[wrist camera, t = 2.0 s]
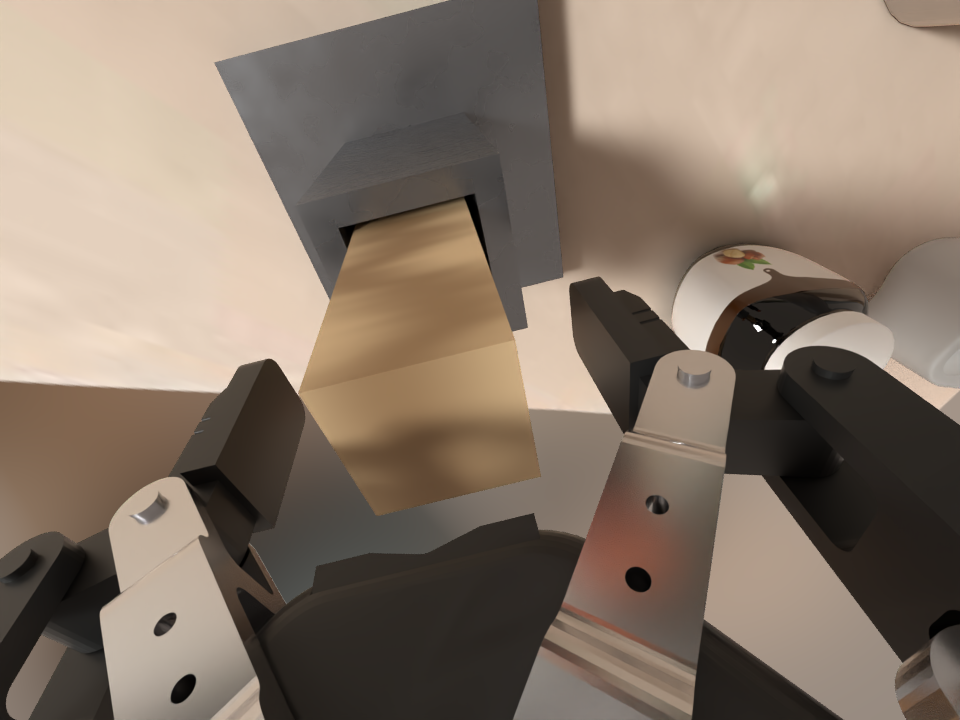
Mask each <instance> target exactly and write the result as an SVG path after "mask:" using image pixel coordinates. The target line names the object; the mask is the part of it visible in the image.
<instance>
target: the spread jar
mask: <svg viewBox="0 0 960 720" xmlns="http://www.w3.org/2000/svg"><path fill="white" fill-rule="evenodd" d="M868 315H869V307H868V300H867V297H866V295H865V292H863V291H862V290H861V289H860V288H859V287H858V286H857V285H856V284H854V283H853V282H851V281H850V280H848V279H846V278H844V277H843V276H841V275H839V274H837V273H835V272H833V271H831V270H829V269H827V268H825V267H823V266H821V265H820V264H818V263H816V262H814V261H812V260H810V259H808V258H805V257H803V256H801V255H798V254H795V253H792V252H789V251H786V250H783V249H779V248H774V247H768V246H763V245H756V244H732V245H727V246H723V247H719V248H717V249H714V250H712V251H710V252H708V253H706V254H704V255H703V256H701V257H700V258H698V259H697V260H696V261H695V262H694V263H693V264H692V265H691V266H690V267H689V268H688V270H687V271H686V273H685V274H684V276H683V277H682V279H681V281H680V283H679V285H678V288H677V291H676V294H675V297H674V301H673V306H672V327H673V330H674V332H675V334H676V335H677V336H678V337H679V338H680V339H681V340H682V341H683V343H684V344H685V345H686V346H687V347H688V348H689V349H690V350H700V351H705V352H709V353H712V354H715V355H717V356H719V357H721V358H723V359H724V360H726V361H727V362H728V363H729V364H730V365H731V366H732V367H733V369H734V370H777V369H782V365H783V362H784V359H785V357H786V356H787V355H788V354H789V353H790V352H792V351H793V350H796V349H798V348H802V347H807V346H830V347H837V348H842V349H845V350H849V351H852V352H855V353H857V354H860V355H862V356H864V357H866V358H867V359H869V360H870V361H872V362H873V363H875V364H876V365H877V366H879V367H880V368H882V369H884V368H885V366H886V365H887V363H888V361H889V360H890V358H891V356H892V353H893V350H894V341H895V340H894V336H893V333H892V332H891V331H890V329H889V328H887V327H886V326H884V325H882V324H880V323H879V322H877V321H875V320H873V319H872V318H870V317H868Z"/></svg>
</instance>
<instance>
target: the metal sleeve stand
mask: <svg viewBox="0 0 960 720" xmlns="http://www.w3.org/2000/svg"><path fill="white" fill-rule="evenodd" d="M215 65H216V67H217V69H218V71H219V73H220V75H221V77H222V79H223V81H224V83H225V86H226V88H227V90H228V92H229V94H230V96H231V98H232V100H233V102H234V104H235V106H236V108H237V110H238V112H239V114H240V116H241V118H242V120H243V122H244V125H245V127H246V129H247V131H248V133H249V135H250V137H251V139H252V141H253V143H254V145H255V147H256V149H257V151H258V153H259V155H260V157H261V159H262V161H263V164H264V166H265V168H266V170H267V172H268V174H269V176H270V178H271V180H272V182H273V184H274V186H275V188H276V190H277V192H278V194H279V196H280V198H281V200H282V203H283V205H284V207H285V209H286V211H287V213H288V215H289V217H290V219H291V221H292V223H293V225H294V227H295V229H296V231H297V233H298V235H299V237H300V240H301V242H302V244H303V246H304V248H305V250H306V252H307V254H308V256H309V258H310V260H311V262H312V264H313V266H314V268H315V270H316V272H317V274H318V276H319V279H320V281H321V283H322V285H323V287H324V289H325V291H326V293H327V295H328V297H329V299H331V296H332V293H333V290H334V288H335V285H336V282H337V279H338V276H339V273H340V270H341V267H342V264H343V261H344V258H345V255H346V253H347V250H348V247H349V244H350V241H351V238H352V235H353V232H354V229H355V226H356V223H360V222H364V221H368V220H372V219H376V218H380V217H384V216H388V215H392V214H396V213H400V212H404V211H407V210H411V209H415V208H419V207H423V206H427V205H431V204H435V203H439V202H443V201H447V200H451V199H454V198H458V197H462V196H464V199H465V202H466V204H467V207H468V210H469V213H470V216H471V218H472V221H473V224H474V227H475V230H476V232H477V235H478V238H479V241H480V244H481V246H482V249H483V252H484V255H485V258H486V260H487V263H488V266H489V269H490V271H491V274H492V277H493V280H494V283H495V285H496V288H497V291H498V294H499V297H500V299H501V302H502V305H503V308H504V311H505V313H506V316H507V319H508V322H509V325H510V327H511V330H512V331H516V330H520V329H524V328H528V326H527V320H526V313H525V307H524V301H523V295H522V289H521V288H522V287H526V286H530V285H534V284H538V283H542V282H546V281H550V280H554V279H558V278H562V277H563V269H562V258H561V248H560V237H559V226H558V215H557V205H556V194H555V183H554V173H553V162H552V151H551V141H550V130H549V119H548V108H547V98H546V87H545V76H544V66H543V55H542V44H541V34H540V23H539V12H538V1H537V0H449V1H445V2H441V3H438V4H434V5H430V6H426V7H423V8H419V9H415V10H411V11H407V12H404V13H400V14H396V15H392V16H389V17H385V18H381V19H377V20H373V21H370V22H366V23H362V24H358V25H355V26H351V27H347V28H343V29H339V30H336V31H332V32H328V33H324V34H321V35H317V36H313V37H309V38H306V39H302V40H298V41H294V42H290V43H287V44H283V45H279V46H275V47H272V48H268V49H264V50H260V51H256V52H253V53H249V54H245V55H241V56H238V57H234V58H230V59H226V60H222V61H219V62H215Z"/></svg>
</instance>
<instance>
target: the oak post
mask: <svg viewBox="0 0 960 720" xmlns="http://www.w3.org/2000/svg"><path fill="white" fill-rule="evenodd" d="M298 394H299V395H300V397H301V398H302V400H303V402H304V403H305V405H306V406H307V408H308V409H309V411H310V413H311V414H312V416H313V417H314V419H315V420H316V422H317V423H318V425H319V427H320V428H321V429H322V431H323V433H324V434H325V436H326V438H327V439H328V441H329V442H330V443H331V445H332V447H333V448H334V450H335V451H336V453H337V455H338V456H339V458H340V459H341V461H342V462H343V464H344V466H345V467H346V469H347V470H348V472H349V473H350V475H351V476H352V478H353V480H354V481H355V483H356V484H357V486H358V487H359V489H360V491H361V492H362V494H363V495H364V497H365V498H366V500H367V502H368V503H369V504H370V506H371V508H372V509H373V511H374V512H375V514H376V516H379V515H383V514H387V513H391V512H395V511H399V510H404V509H408V508H412V507H416V506H420V505H425V504H429V503H433V502H437V501H441V500H445V499H449V498H454V497H458V496H462V495H466V494H470V493H475V492H479V491H483V490H487V489H491V488H495V487H499V486H503V485H508V484H512V483H516V482H520V481H524V480H528V479H533V478H537V477H541V474H540V469H539V464H538V458H537V453H536V448H535V443H534V437H533V433H532V427H531V422H530V416H529V411H528V406H527V401H526V395H525V390H524V385H523V380H522V374H521V369H520V364H519V359H518V353H517V348H516V343H515V339H514V336H513V333H512V330H511V327H510V325H509V322H508V319H507V316H506V313H505V311H504V308H503V305H502V302H501V299H500V297H499V294H498V291H497V288H496V285H495V283H494V280H493V277H492V274H491V271H490V269H489V266H488V263H487V260H486V258H485V255H484V252H483V249H482V246H481V244H480V241H479V238H478V235H477V232H476V230H475V227H474V224H473V221H472V218H471V216H470V213H469V210H468V207H467V204H466V202H465V199H464V196H462V197H458V198H454V199H451V200H447V201H443V202H439V203H435V204H431V205H427V206H423V207H419V208H415V209H411V210H407V211H404V212H400V213H396V214H392V215H388V216H384V217H380V218H376V219H372V220H368V221H364V222H360V223H356V226H355V229H354V232H353V235H352V238H351V241H350V244H349V247H348V250H347V253H346V255H345V258H344V261H343V264H342V267H341V270H340V273H339V276H338V279H337V282H336V285H335V288H334V290H333V293H332V296H331V299H330V302H329V305H328V308H327V311H326V314H325V317H324V320H323V323H322V326H321V328H320V331H319V334H318V337H317V340H316V343H315V346H314V349H313V352H312V355H311V358H310V361H309V363H308V366H307V369H306V372H305V375H304V378H303V381H302V384H301V387H300V390H299V393H298Z"/></svg>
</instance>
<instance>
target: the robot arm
mask: <svg viewBox="0 0 960 720" xmlns="http://www.w3.org/2000/svg"><path fill="white" fill-rule="evenodd" d="M884 1H885V3H886V5H887V7H888V9H889V11H890V13H891V14H892V15H893V16H894V17H895V18H896V19H897V20H898V21H899V22H901V23H904V24H907V25H909V26H912V27H929V26H947V25H960V0H884ZM569 293H570V305H571V317H572V329H573V338H574V342H575V346H576V349H577V352H578V354H579V356H580V358H581V359H582V361H583V363H584V365H585V366H586V368H587V370H588V372H589V374H590V375H591V377H592V379H593V381H594V382H595V384H596V386H597V388H598V389H599V391H600V393H601V395H602V396H603V398H604V400H605V402H606V404H607V405H608V407H609V409H610V411H611V412H612V414H613V416H614V418H615V419H616V421H617V423H618V425H619V426H620V428H621V430H622V432H623V433H624V436H623V438H622V441H621V443H620V446H619V449H618V452H617V455H616V457H615V460H614V463H613V466H612V468H611V471H610V474H609V476H608V480H607V482H606V485H605V488H604V490H603V493H602V496H601V499H600V501H599V504H598V507H597V510H596V512H595V515H594V518H593V521H592V523H591V526H590V529H589V532H588V534H587V537H586V539H585V538H582V537H579V536H577V535H573V534H569V533H566V532H560V531H553V530H538V527H537V523H536V520H535V516H534V513H533V514H529V515H525V516H520V517H516V518H512V519H508V520H504V521H500V522H496V523H492V524H487V525H483V526H480V527H478V528H476V529H474V530H472V531H470V532H468V533H466V534H464V535H462V536H460V537H458V538H456V539H454V540H452V541H450V542H448V543H447V544H445V545H443V546H441V547H439V548H437V549H435V550H433V551H431V552H429V553H425V554H379V553H369V554H364V555H360V556H357V557H352V558H348V559H344V560H340V561H336V562H332V563H328V564H324V565H319V566H317V567H316V572H315V577H314V583H313V587H311V588H309V589H307V590H306V591H304V592H303V593H301V594H300V595H298V596H297V597H295V598H294V599H293V600H291V601H290V602H289V603H288V604H286V602H285V601H284V599H283V597H282V596H281V594H280V592H279V590H278V589H277V587H276V585H275V583H274V582H273V580H272V578H271V576H270V574H269V573H268V571H267V569H266V567H265V566H264V564H263V562H262V560H261V558H260V557H259V555H258V553H257V551H256V550H255V549H254V547H253V546H251V545H250V544H249V541H250V538H251V536H252V533H256V532H260V531H264V530H268V529H272V528H274V527H275V524H276V521H277V517H278V514H279V510H280V507H281V503H282V500H283V496H284V493H285V489H286V486H287V482H288V479H289V475H290V472H291V469H292V465H293V461H294V458H295V455H296V451H297V447H298V444H299V441H300V437H301V433H302V430H303V427H304V423H305V411H304V407H303V404H302V402H301V400H300V398H299V397H298V395H297V393H296V392H295V390H294V389H293V387H292V386H291V384H290V382H289V381H288V379H287V378H286V376H285V375H284V373H283V372H282V370H281V368H280V367H279V365H278V364H277V363H276V362H275V361H274V360H272V359H265V360H261V361H257V362H253V363H249V364H245V365H242V366H240V367H239V368H238V369H237V371H236V373H235V374H234V376H233V378H232V380H231V382H230V383H229V385H228V387H227V388H226V389H225V390H224V391H223V392H222V393H221V394H220V395H219V396H218V397H217V398H216V399H215V400H214V401H213V402H212V403H211V404H210V405H209V407H208V409H207V410H206V412H205V414H204V416H203V417H202V422H200V423H199V424H198V426H197V428H196V429H195V431H194V433H195V435H192V436H191V438H190V440H189V442H188V443H187V445H186V447H185V449H184V450H183V452H182V454H181V456H180V457H179V459H178V461H177V463H176V464H175V466H174V468H173V469H172V471H171V473H170V475H169V476H168V477H167V478H163V479H160V480H158V481H155V482H153V483H151V484H149V485H147V486H145V487H144V488H142V489H141V490H139V491H138V492H136V493H135V494H134V495H133V496H131V497H130V498H129V499H128V500H127V501H126V502H125V503H124V504H123V505H122V506H121V507H120V508H119V510H118V511H117V512H116V513H115V515H114V517H113V518H112V520H111V522H110V525H109V528H107V529H105V530H103V531H101V532H99V533H97V534H95V535H93V536H91V537H89V538H87V539H85V540H83V541H81V542H79V543H77V544H76V543H75V542H73V541H71V540H70V539H69V538H67V537H65V536H64V535H62V534H61V533H59V532H48V533H44V534H41V535H38V536H36V537H34V538H31V539H29V540H28V541H26V542H24V543H22V544H21V545H19V546H17V547H16V548H14V549H13V550H12V551H10V552H9V553H8V554H6V555H5V556H4V557H3V558H1V559H0V720H15V719H13V718H12V717H10V716H9V714H8V713H7V709H6V697H7V694H8V691H9V688H10V686H11V685H12V683H13V681H14V679H15V678H16V676H17V674H18V672H19V671H20V669H21V668H22V666H23V664H24V663H25V661H26V659H27V657H28V656H29V654H30V652H31V651H32V649H33V647H34V646H35V644H36V642H37V641H38V639H39V637H40V636H41V635H43V636H45V637H47V638H49V639H52V640H54V641H56V642H58V643H61V644H63V645H65V646H67V649H66V651H65V653H64V655H63V656H62V658H61V660H60V662H59V664H58V666H57V668H56V670H55V671H54V673H53V675H52V677H51V679H50V681H49V683H48V684H47V686H46V688H45V690H44V692H43V694H42V696H41V698H40V699H39V701H38V703H37V705H36V707H35V709H34V711H33V712H32V714H31V716H30V718H29V720H843V719H842V718H840V717H839V716H838V715H836V714H835V713H833V712H832V711H831V710H829V709H828V708H827V707H825V706H824V705H823V704H821V703H820V702H818V701H817V700H815V699H814V698H813V697H811V696H810V695H809V694H807V693H806V692H804V691H803V690H802V689H800V688H799V687H797V686H796V685H795V684H793V683H792V682H790V681H789V680H787V679H786V678H785V677H783V676H782V675H781V674H779V673H778V672H776V671H775V670H774V669H772V668H771V667H770V666H768V665H767V664H765V663H764V662H762V661H761V660H760V659H758V658H757V657H756V656H754V655H753V654H751V653H750V652H749V651H747V650H746V649H744V648H743V647H742V646H740V645H739V644H737V643H736V642H735V641H733V640H732V639H730V638H729V637H728V636H726V635H725V634H723V633H722V632H721V631H719V630H718V629H716V628H715V627H714V626H712V625H711V624H710V623H708V622H707V621H705V620H704V612H705V605H706V599H707V592H708V591H707V590H708V584H709V578H710V571H711V563H712V556H713V549H714V542H715V534H716V528H717V521H718V514H719V506H720V500H721V492H722V485H723V478H724V474H747V475H762V476H763V477H764V479H765V480H766V482H767V483H768V484H769V486H770V487H771V488H772V490H773V491H774V492H775V494H776V495H777V496H778V498H779V499H780V500H781V502H782V503H783V504H784V506H785V507H786V508H787V510H788V511H789V512H790V514H791V515H792V516H793V518H794V519H795V520H796V522H797V523H798V524H799V526H800V527H801V528H802V530H803V531H804V532H805V534H806V535H807V536H808V537H809V539H810V540H811V541H812V543H813V544H814V546H815V547H816V548H817V550H818V551H819V552H820V554H821V555H822V556H823V558H824V559H825V560H826V562H827V563H828V564H829V566H830V567H831V568H832V570H834V572H835V574H836V575H837V576H838V577H839V579H840V580H841V582H842V583H843V584H844V585H845V587H846V588H847V589H848V591H849V592H850V593H851V595H852V596H853V597H854V599H855V600H856V601H857V603H858V604H859V605H860V607H861V608H862V609H863V611H864V612H865V613H866V615H867V616H868V617H869V619H870V620H871V621H872V623H873V624H874V625H875V627H876V628H877V629H878V631H879V632H880V633H881V635H882V636H883V637H884V639H885V640H886V641H887V643H888V644H889V645H890V646H891V648H892V649H893V651H894V652H895V653H896V655H897V656H898V657H899V659H900V660H901V661H902V664H901V665H900V666H899V668H898V671H897V673H896V677H895V692H896V696H897V700H898V703H899V705H900V708H901V710H902V713H903V714H904V716H905V718H906V720H960V425H959V424H957V423H956V422H955V421H953V420H952V419H950V418H949V417H948V416H946V415H945V414H944V413H942V412H941V411H939V410H938V409H937V408H935V407H934V406H933V405H931V404H930V403H928V402H927V401H926V400H924V399H923V398H922V397H920V396H919V395H917V394H916V393H915V392H913V391H912V390H910V389H909V388H908V387H906V386H905V385H904V384H902V383H901V382H899V381H898V380H897V379H895V378H894V377H893V376H891V375H890V374H888V373H887V372H886V371H884V370H883V369H882V368H880V367H879V366H877V365H876V364H875V363H873V362H872V361H870V360H869V359H867V358H866V357H864V356H862V355H860V354H857V353H855V352H852V351H849V350H845V349H842V348H837V347H830V346H807V347H802V348H798V349H796V350H793V351H792V352H790V353H789V354H788V355H787V356H786V357H785V359H784V362H783V365H782V369H777V370H734V369H733V367H732V366H731V365H730V364H729V363H728V362H727V361H726V360H724V359H723V358H721V357H719V356H717V355H715V354H712V353H709V352H705V351H700V350H690V349H689V348H688V347H687V346H686V345H685V344H684V343H683V341H682V340H681V339H680V338H679V337H678V336H677V335H676V334H675V333H674V332H673V331H672V330H671V329H670V328H669V327H668V326H667V325H666V324H665V323H664V322H663V321H662V320H660V319H659V316H658V315H657V314H656V313H655V312H654V311H653V310H652V311H651V308H650V307H649V306H648V305H647V304H646V303H645V302H644V301H643V300H642V299H641V298H640V297H639V296H636V295H634V294H632V293H629V292H627V291H625V290H621V291H617V292H613V291H612V290H611V289H610V288H609V287H608V285H607V284H606V283H605V282H604V281H603V280H602V278H600V277H595V278H591V279H587V280H583V281H579V282H575V283H571V284H570V288H569Z"/></svg>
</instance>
